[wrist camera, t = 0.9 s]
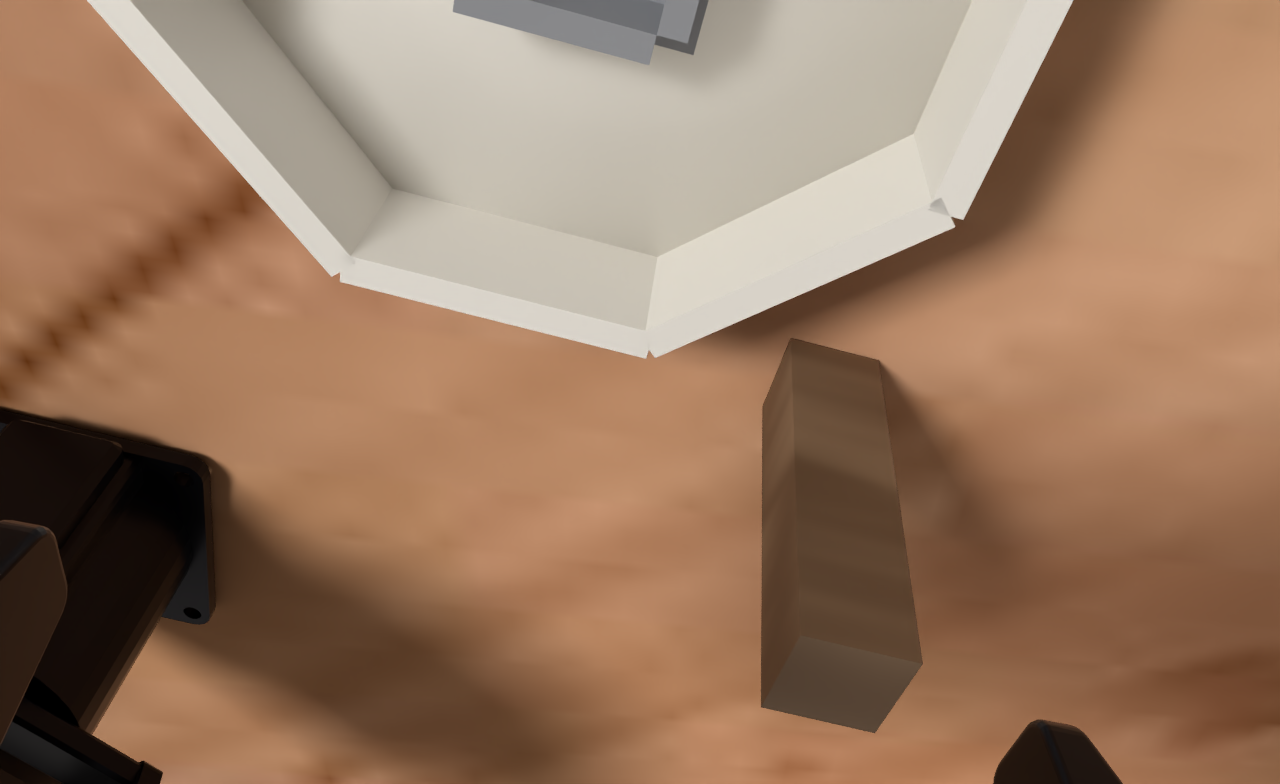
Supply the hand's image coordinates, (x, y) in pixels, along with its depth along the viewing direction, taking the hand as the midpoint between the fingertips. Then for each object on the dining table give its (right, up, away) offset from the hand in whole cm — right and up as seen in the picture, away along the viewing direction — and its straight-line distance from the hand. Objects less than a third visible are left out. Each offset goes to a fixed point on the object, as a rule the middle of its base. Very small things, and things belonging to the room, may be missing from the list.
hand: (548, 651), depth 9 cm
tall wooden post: (+5, +3, +13) cm, 15 cm away
